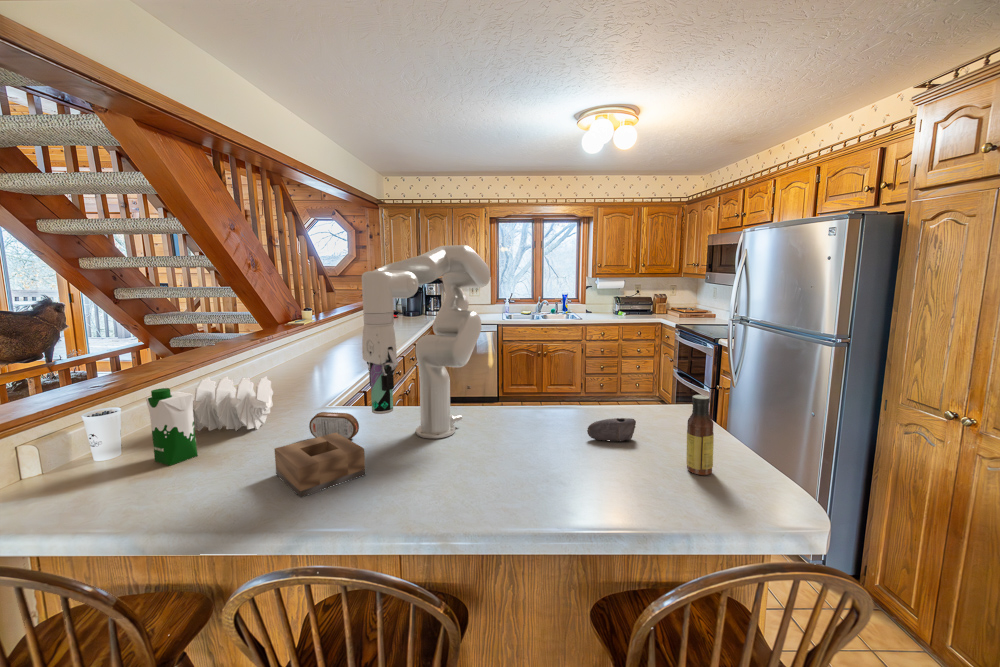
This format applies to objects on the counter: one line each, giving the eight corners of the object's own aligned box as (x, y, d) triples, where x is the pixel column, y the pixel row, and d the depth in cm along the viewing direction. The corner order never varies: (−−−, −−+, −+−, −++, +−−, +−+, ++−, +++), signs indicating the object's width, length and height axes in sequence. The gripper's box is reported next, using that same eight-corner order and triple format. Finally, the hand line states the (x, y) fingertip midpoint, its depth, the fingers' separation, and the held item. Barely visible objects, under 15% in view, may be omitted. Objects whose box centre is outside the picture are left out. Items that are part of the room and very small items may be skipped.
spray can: (374, 407, 118) (370, 335, 115) (394, 407, 118) (391, 334, 115) (370, 414, 112) (366, 338, 110) (391, 413, 113) (388, 337, 110)
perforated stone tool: (588, 443, 131) (588, 420, 130) (585, 436, 136) (586, 415, 135) (638, 444, 130) (639, 422, 129) (634, 437, 135) (635, 416, 134)
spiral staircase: (201, 437, 146) (278, 431, 149) (166, 432, 130) (253, 425, 132) (208, 384, 152) (282, 379, 154) (175, 372, 135) (258, 367, 137)
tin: (360, 438, 135) (358, 412, 133) (355, 442, 131) (354, 415, 130) (313, 436, 136) (312, 411, 135) (308, 440, 133) (306, 414, 132)
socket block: (337, 456, 121) (336, 432, 120) (365, 474, 110) (364, 448, 109) (276, 474, 110) (274, 448, 109) (300, 497, 99) (298, 468, 98)
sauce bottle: (710, 467, 114) (715, 394, 111) (713, 478, 108) (719, 401, 106) (683, 464, 116) (688, 392, 114) (685, 474, 110) (690, 398, 108)
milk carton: (149, 462, 117) (140, 390, 115) (184, 450, 126) (178, 382, 123) (167, 468, 114) (160, 394, 111) (203, 455, 122) (197, 386, 119)
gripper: (349, 318, 115) (353, 384, 118) (383, 323, 103) (386, 397, 106) (375, 316, 120) (378, 379, 123) (409, 320, 108) (412, 391, 111)
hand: (381, 386), depth 114 cm, fingers closed on spray can, 5 cm apart
